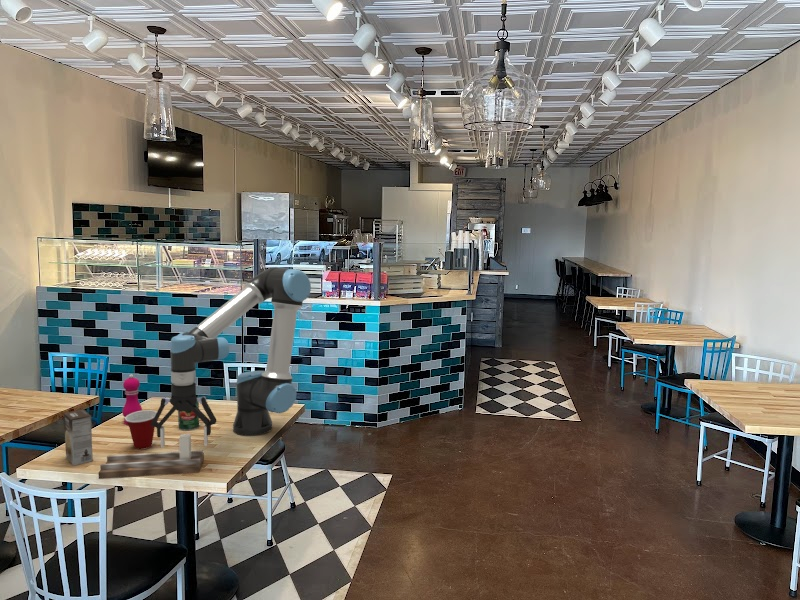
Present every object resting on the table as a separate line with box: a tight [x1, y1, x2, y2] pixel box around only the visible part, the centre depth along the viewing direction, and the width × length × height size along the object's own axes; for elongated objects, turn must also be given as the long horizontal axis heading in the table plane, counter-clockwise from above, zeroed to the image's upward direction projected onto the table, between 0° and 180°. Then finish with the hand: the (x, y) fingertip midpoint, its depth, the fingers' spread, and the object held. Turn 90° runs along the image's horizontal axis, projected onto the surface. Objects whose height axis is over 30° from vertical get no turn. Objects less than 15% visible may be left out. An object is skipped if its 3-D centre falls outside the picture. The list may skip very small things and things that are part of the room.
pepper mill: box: [122, 373, 143, 426], centre depth 231 cm, size 7×7×20 cm
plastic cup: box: [124, 409, 157, 450], centre depth 206 cm, size 11×11×12 cm
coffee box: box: [63, 408, 94, 466], centre depth 193 cm, size 9×6×16 cm
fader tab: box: [178, 433, 192, 460], centre depth 190 cm, size 3×4×8 cm
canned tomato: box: [177, 401, 200, 432], centre depth 227 cm, size 8×8×11 cm
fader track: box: [98, 450, 205, 480], centre depth 188 cm, size 30×12×4 cm, turn 101°
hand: (184, 445), depth 190 cm, fingers open, 13 cm apart
